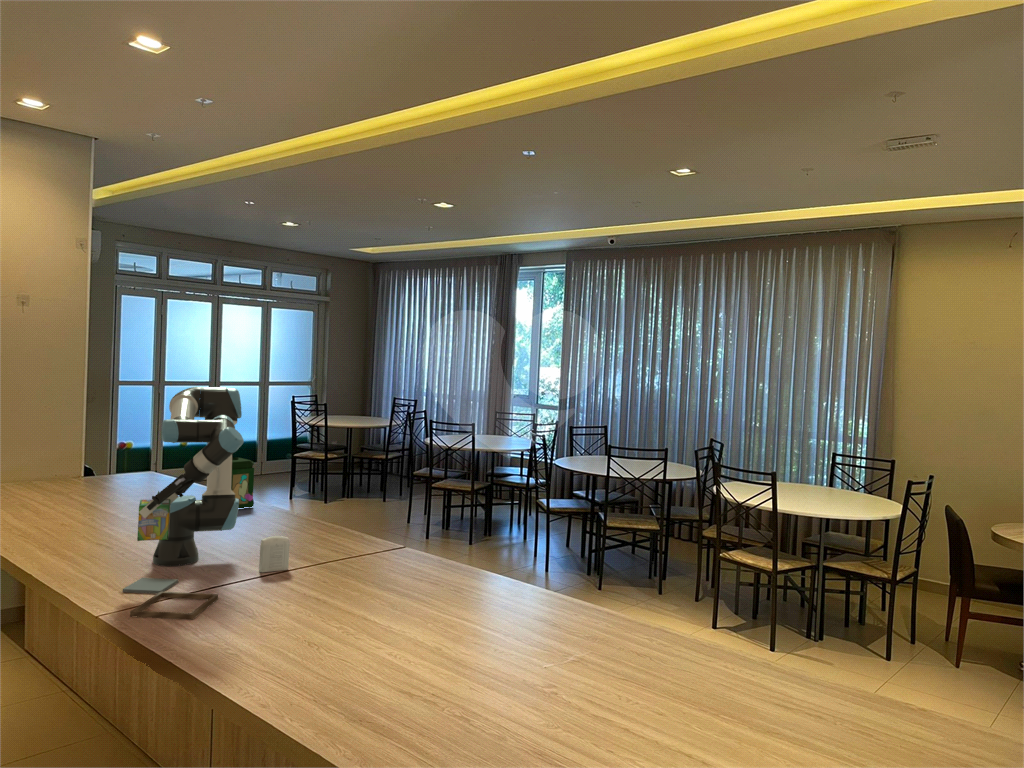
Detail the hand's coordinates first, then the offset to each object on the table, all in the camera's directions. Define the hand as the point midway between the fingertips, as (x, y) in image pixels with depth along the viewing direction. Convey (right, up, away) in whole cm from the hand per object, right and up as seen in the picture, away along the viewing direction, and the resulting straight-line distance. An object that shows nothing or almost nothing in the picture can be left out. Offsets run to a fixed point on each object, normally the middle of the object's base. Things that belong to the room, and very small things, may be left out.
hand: (151, 510), depth 228 cm
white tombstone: (+31, -26, +25) cm, 48 cm away
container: (-24, -21, +125) cm, 129 cm away
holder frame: (+15, -26, -16) cm, 34 cm away
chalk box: (0, -9, 0) cm, 9 cm away
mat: (-1, -25, +1) cm, 25 cm away
